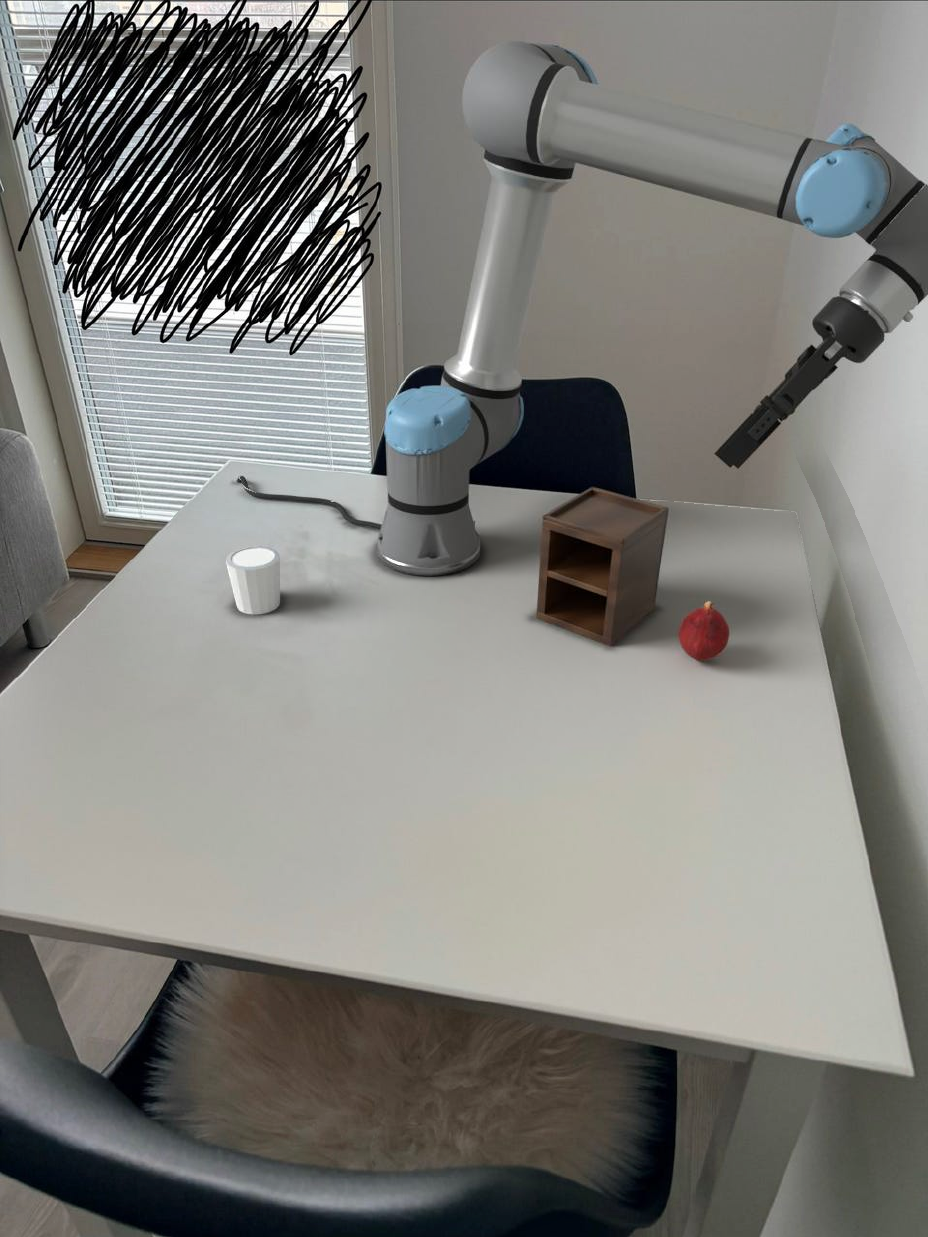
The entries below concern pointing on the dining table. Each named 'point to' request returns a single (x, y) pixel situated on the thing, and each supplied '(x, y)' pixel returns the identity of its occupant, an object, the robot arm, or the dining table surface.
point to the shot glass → (255, 578)
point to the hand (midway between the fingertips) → (725, 461)
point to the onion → (704, 633)
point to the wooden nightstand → (600, 563)
